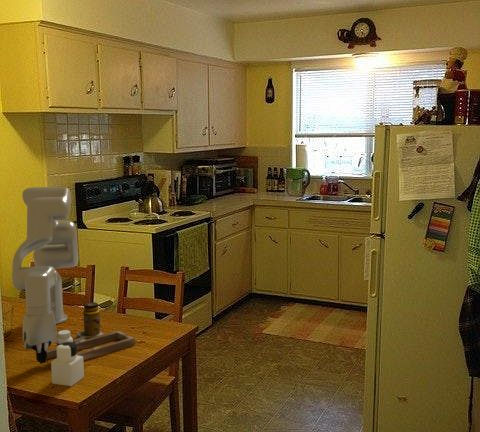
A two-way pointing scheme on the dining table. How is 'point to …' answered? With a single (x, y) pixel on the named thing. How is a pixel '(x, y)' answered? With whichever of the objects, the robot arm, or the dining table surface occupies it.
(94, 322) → the condiment
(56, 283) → the robot arm
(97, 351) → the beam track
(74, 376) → the white stacked blocks
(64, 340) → the supplement bottle
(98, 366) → the dining table surface
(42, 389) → the dining table surface
